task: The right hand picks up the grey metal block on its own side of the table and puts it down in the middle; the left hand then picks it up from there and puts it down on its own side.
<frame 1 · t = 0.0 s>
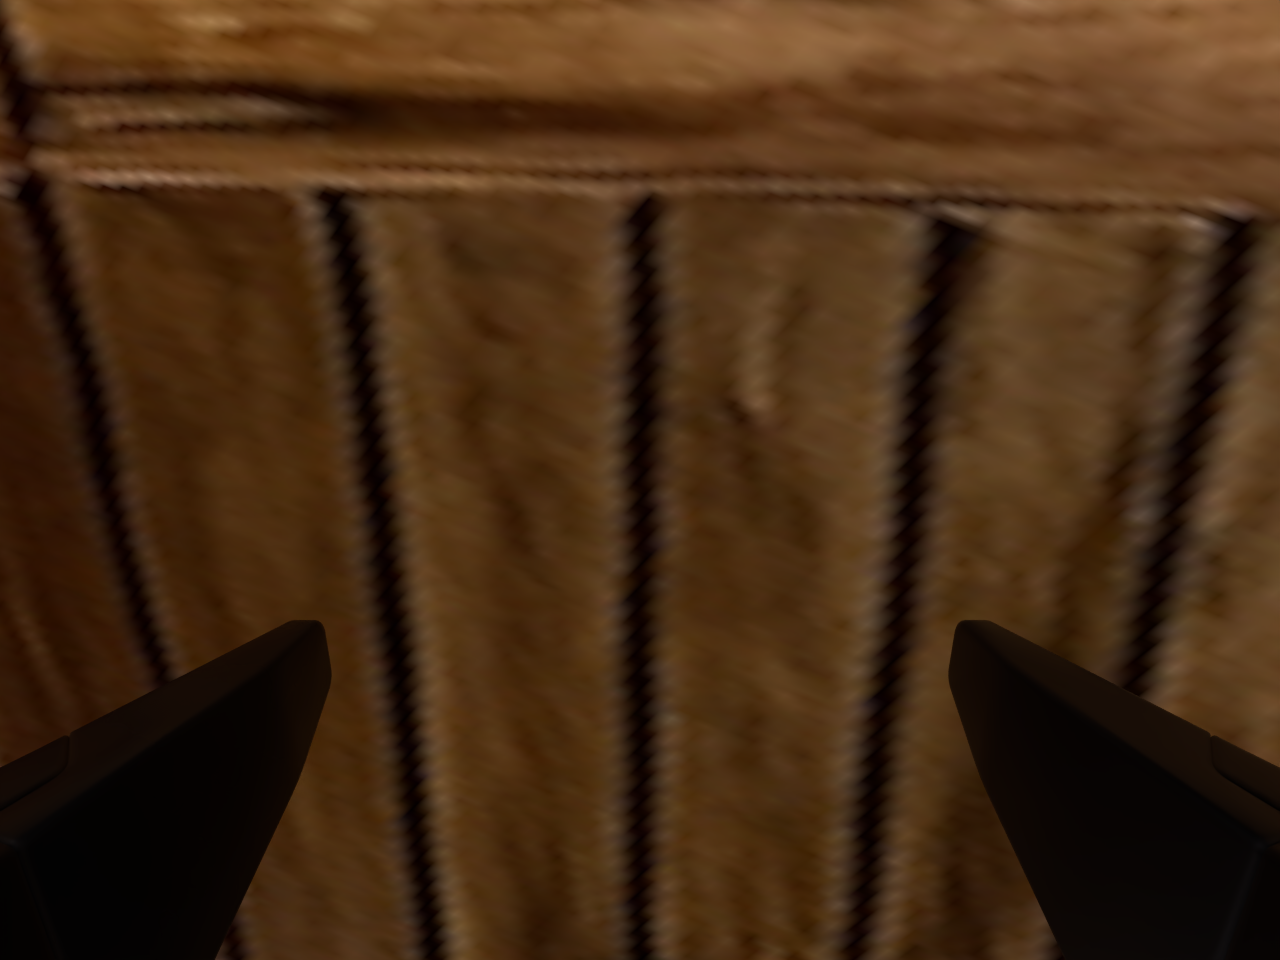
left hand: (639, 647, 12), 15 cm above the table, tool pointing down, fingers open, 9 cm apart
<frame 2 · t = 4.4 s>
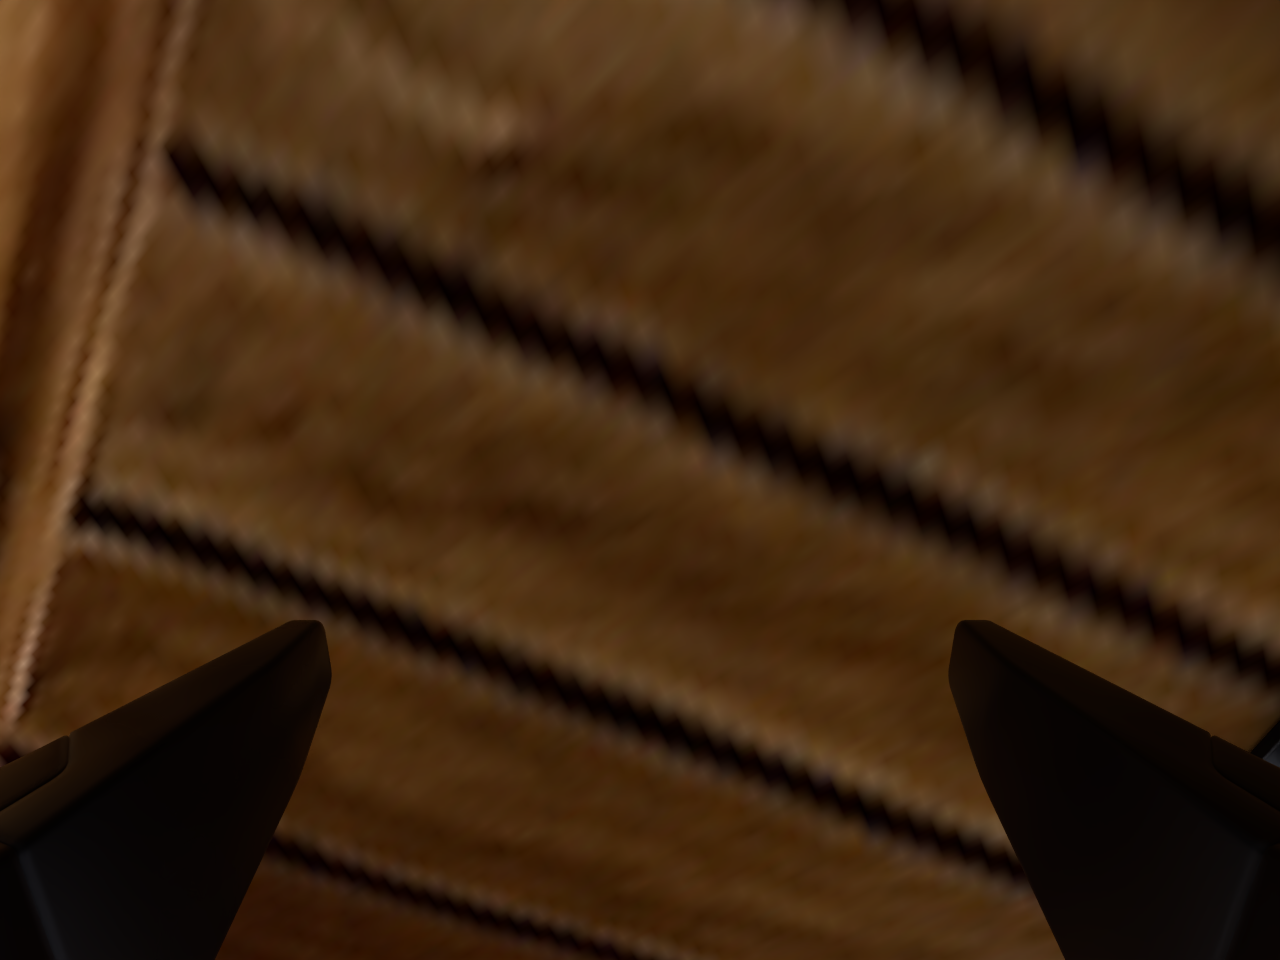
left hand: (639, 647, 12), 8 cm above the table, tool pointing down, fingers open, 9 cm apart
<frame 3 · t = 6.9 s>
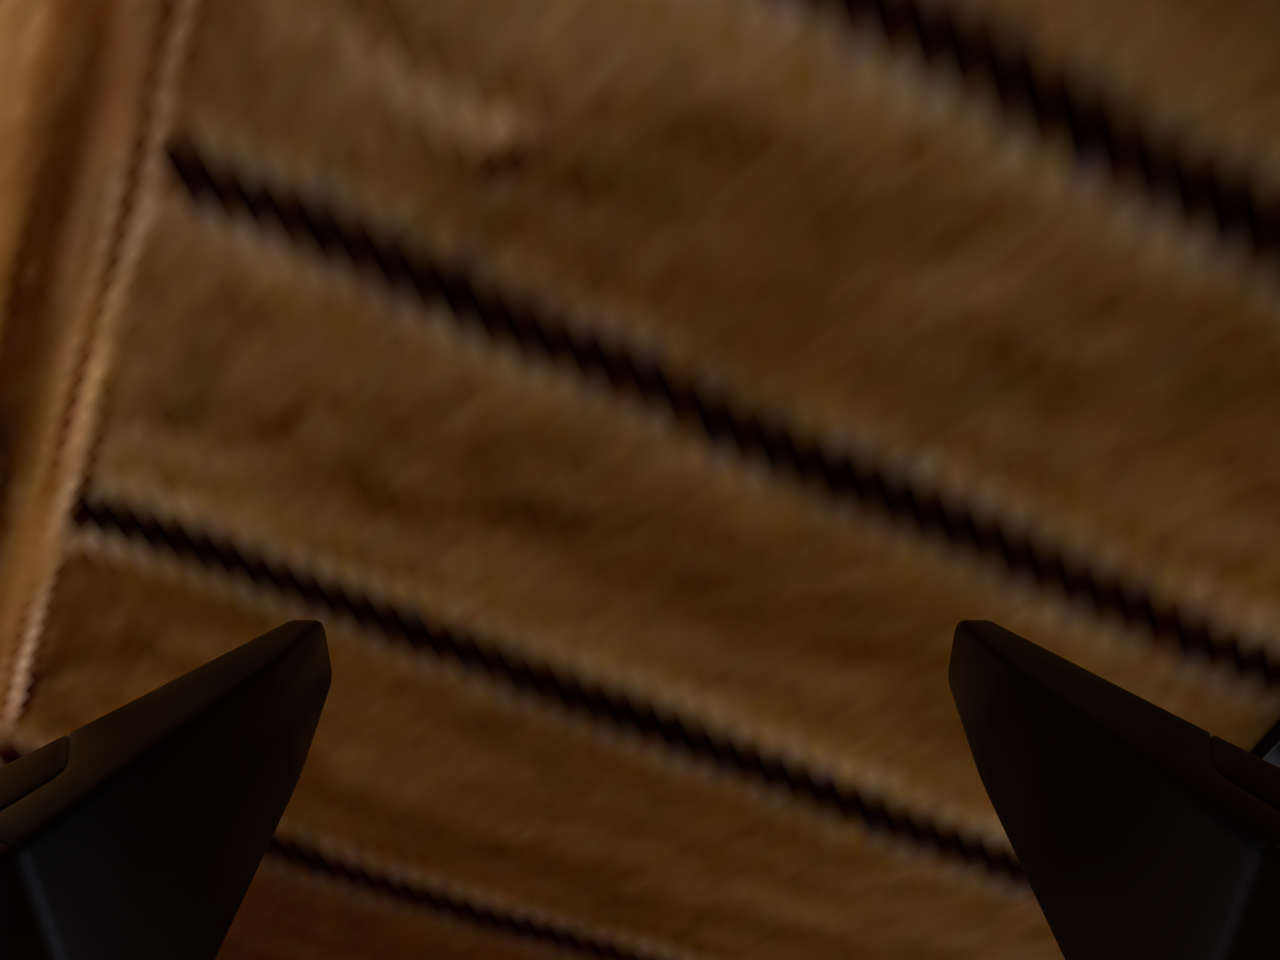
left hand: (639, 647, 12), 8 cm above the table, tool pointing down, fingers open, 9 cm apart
when the right hand's fingers open (0 cm above the table, at t = 9.6 s): grey metal block stays where it is, on the table.
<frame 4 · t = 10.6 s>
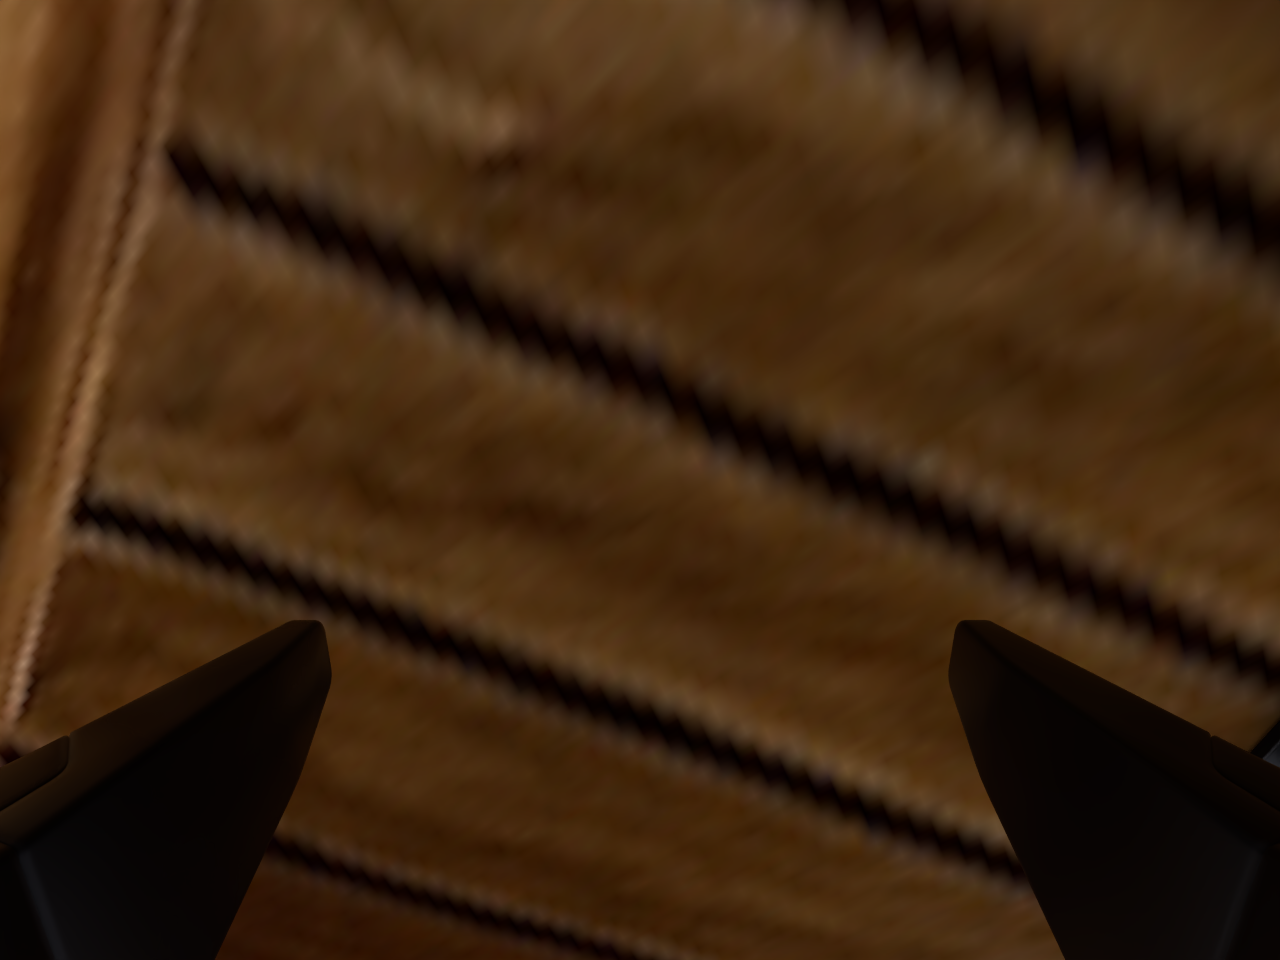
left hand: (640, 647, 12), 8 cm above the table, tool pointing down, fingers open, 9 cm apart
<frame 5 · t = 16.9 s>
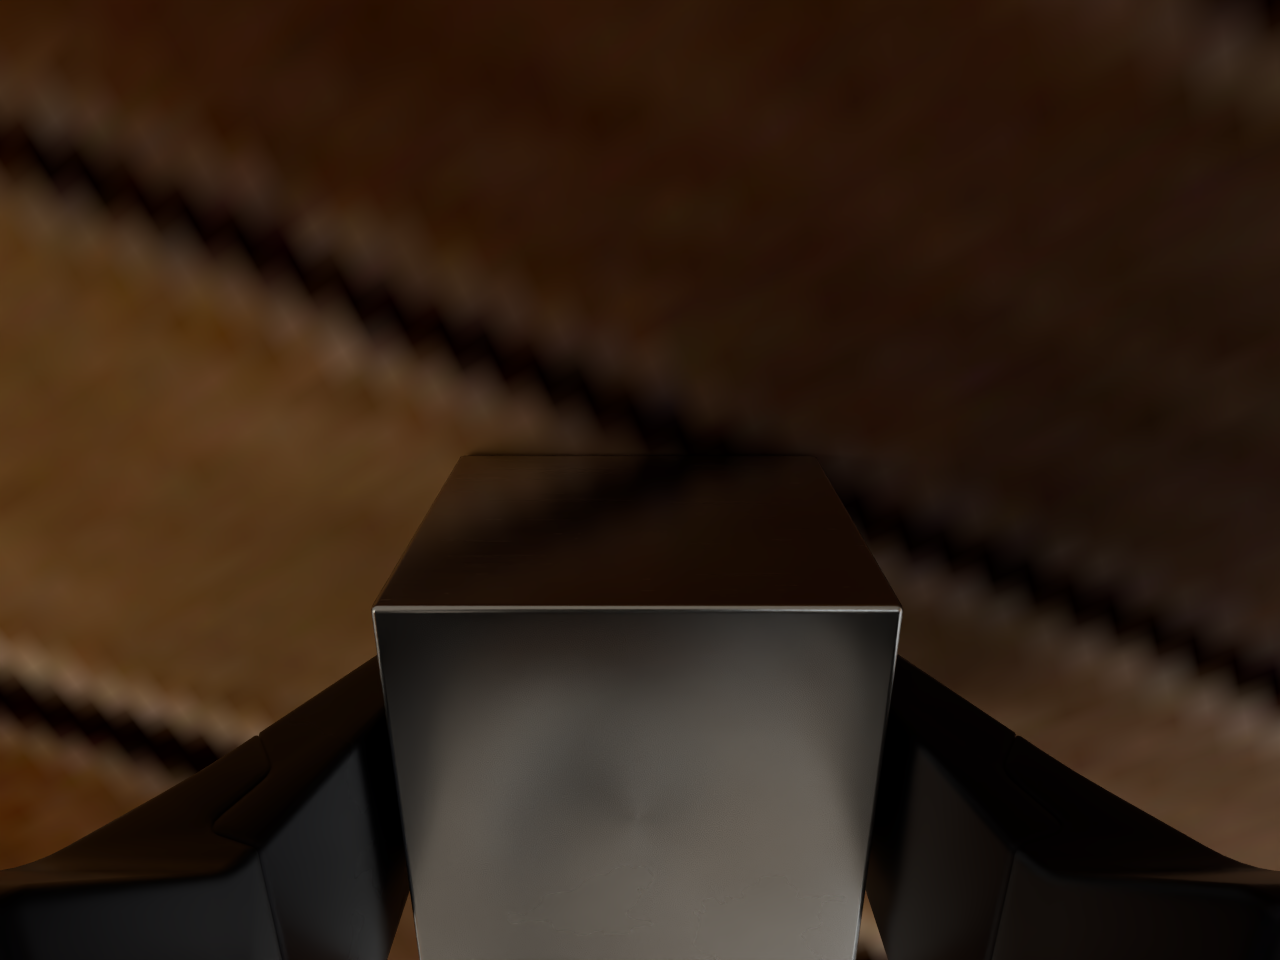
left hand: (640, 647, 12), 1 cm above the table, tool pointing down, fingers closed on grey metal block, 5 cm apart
grey metal block: (638, 611, 13), on the table, touching left hand
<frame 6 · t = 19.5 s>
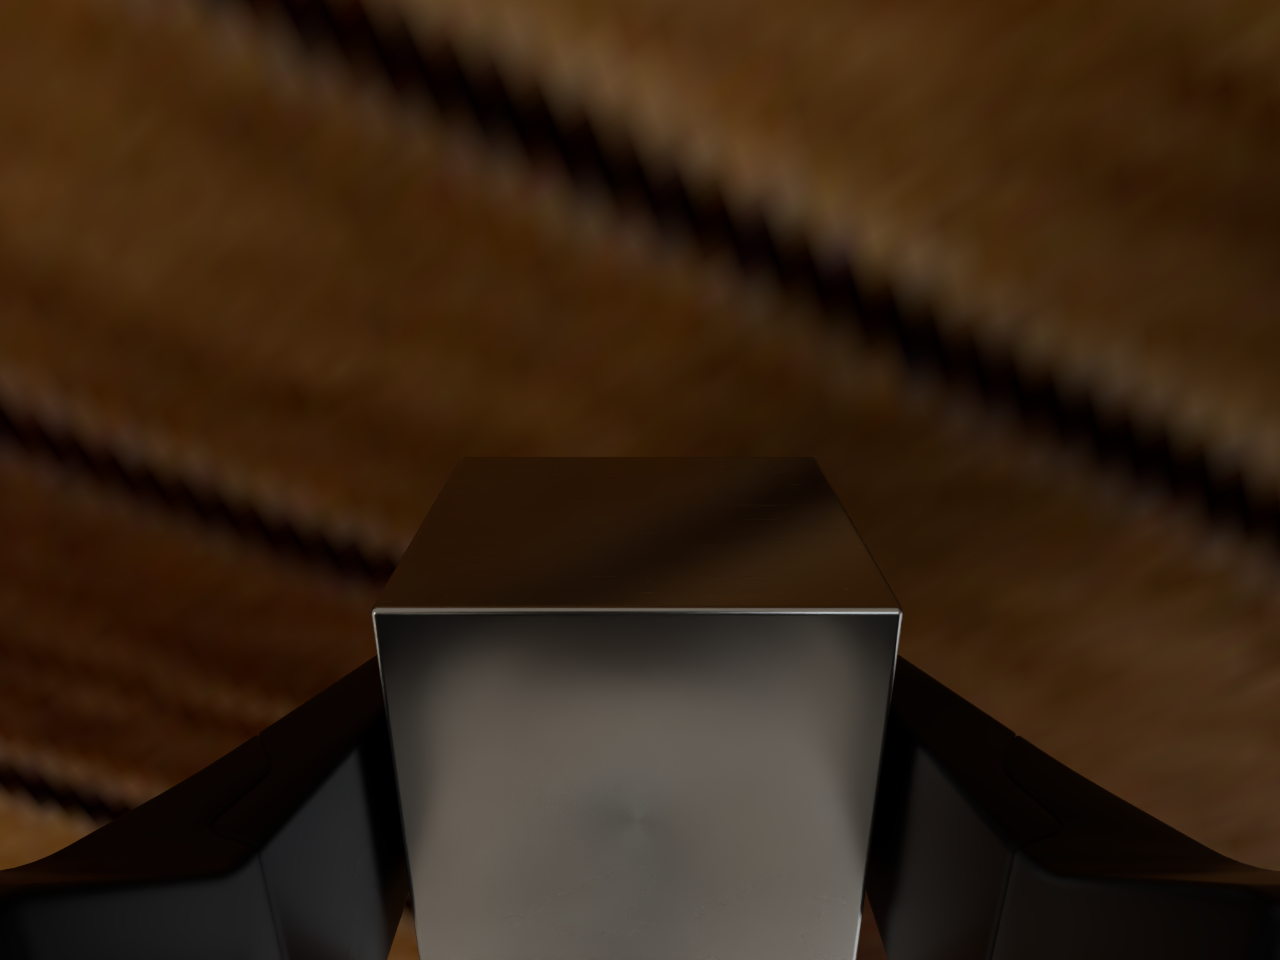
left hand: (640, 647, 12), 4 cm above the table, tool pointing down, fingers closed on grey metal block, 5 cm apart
grey metal block: (638, 612, 13), point 3 cm above the table, touching left hand
when the left hand's fingers open (2 cm above the table, at t = 22.4 s): grey metal block stays where it is, on the table.
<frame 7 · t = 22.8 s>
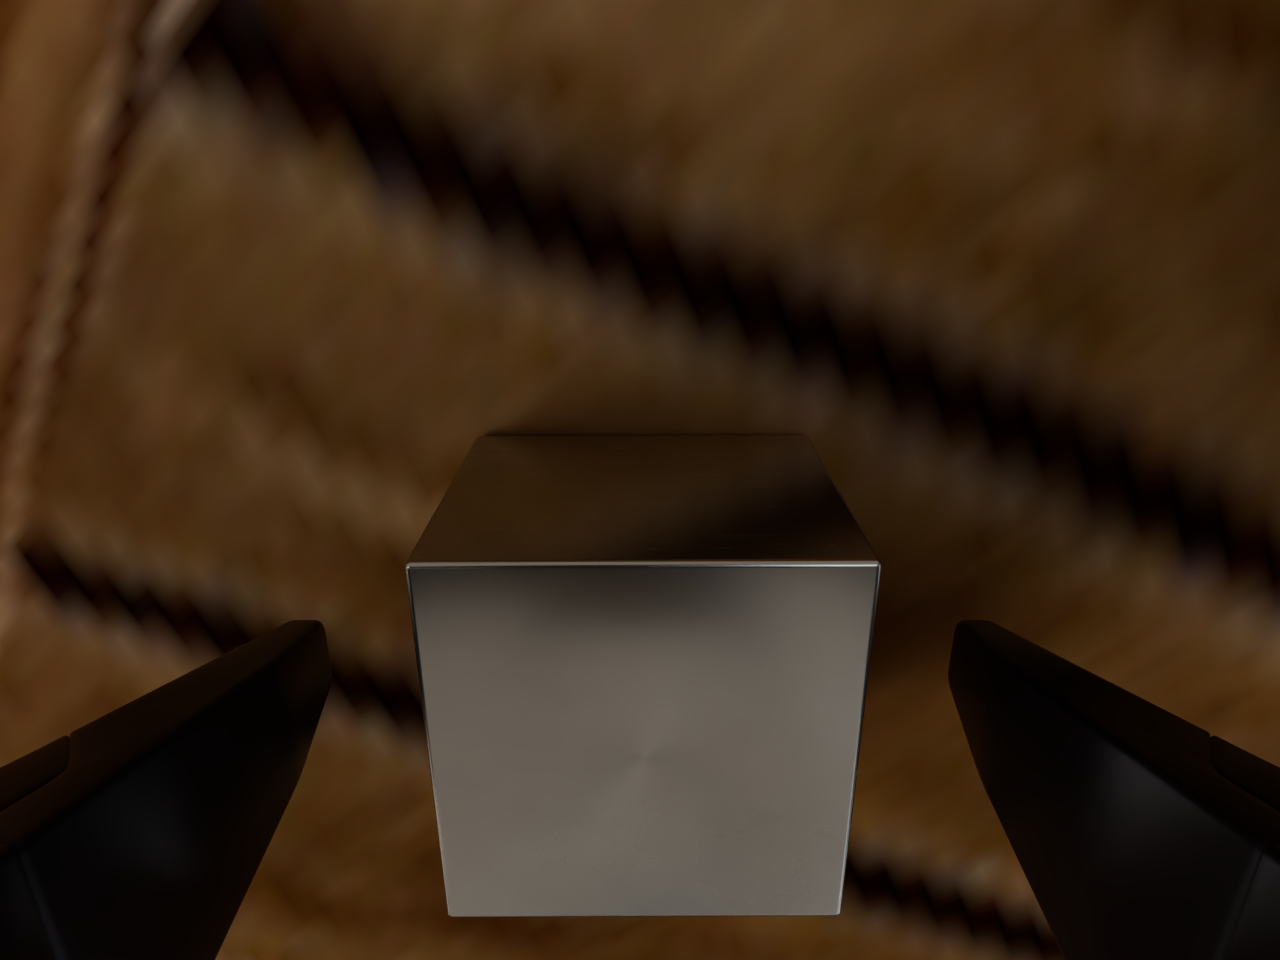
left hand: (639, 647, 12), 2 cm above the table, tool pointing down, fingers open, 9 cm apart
grey metal block: (642, 581, 14), on the table
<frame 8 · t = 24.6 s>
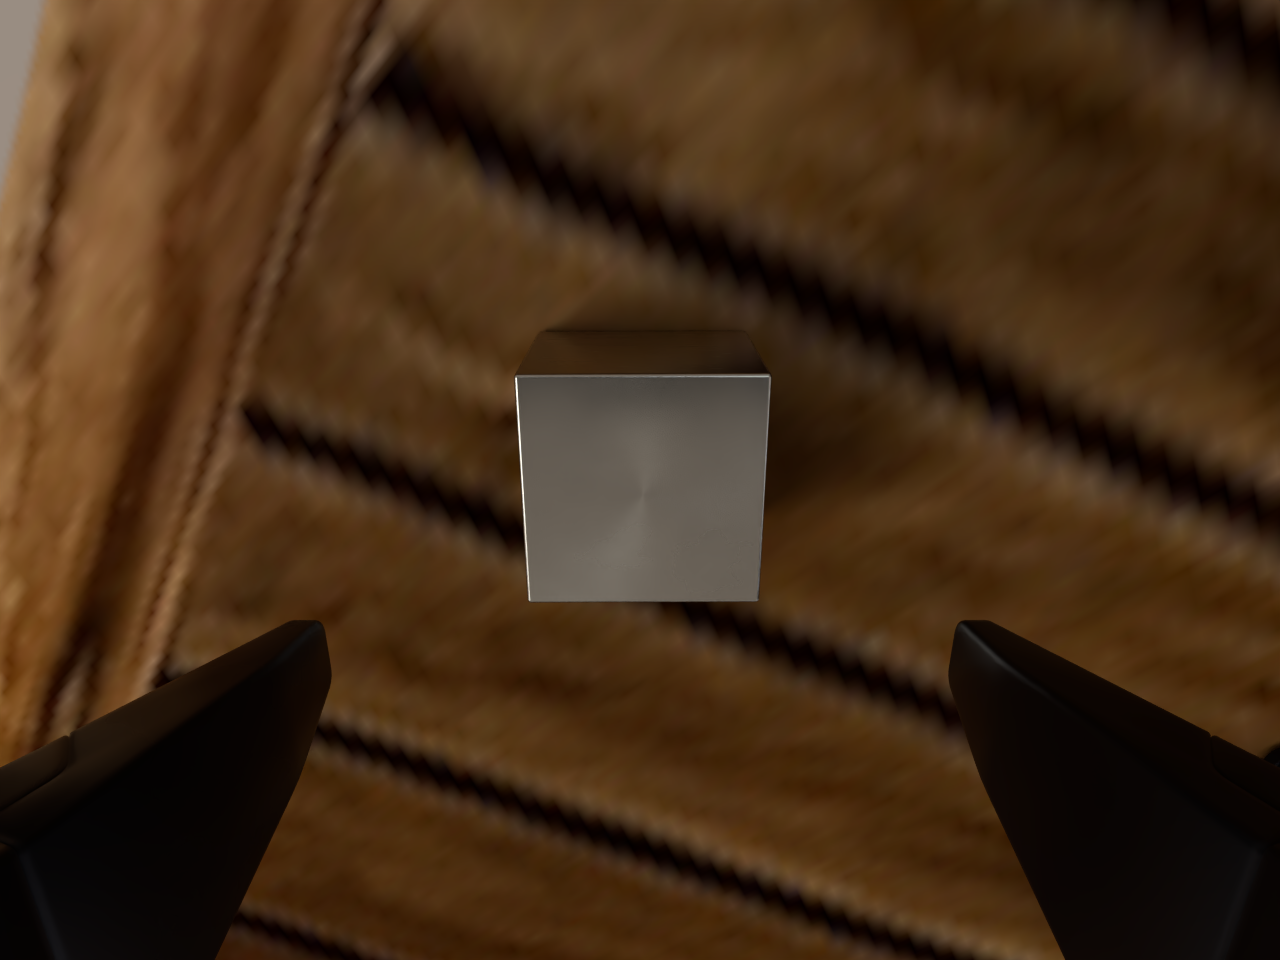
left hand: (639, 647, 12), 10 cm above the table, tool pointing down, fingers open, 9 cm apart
grey metal block: (642, 430, 21), on the table
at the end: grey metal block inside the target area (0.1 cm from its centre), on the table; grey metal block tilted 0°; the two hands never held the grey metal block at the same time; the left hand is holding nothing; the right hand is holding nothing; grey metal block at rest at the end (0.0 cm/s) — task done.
